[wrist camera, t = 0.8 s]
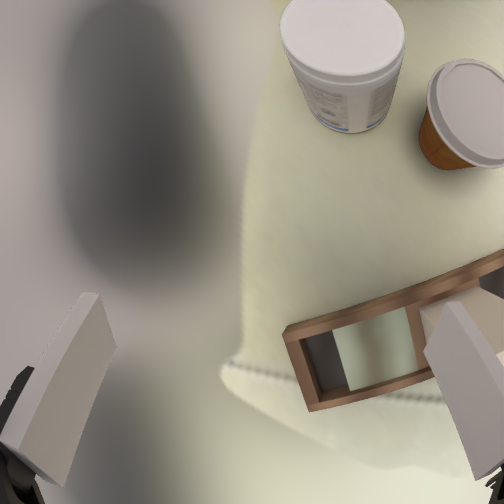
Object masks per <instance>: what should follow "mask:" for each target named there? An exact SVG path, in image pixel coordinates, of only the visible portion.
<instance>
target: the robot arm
mask: <svg viewBox="0 0 504 504" xmlns="http://www.w3.org/2000/svg"><path fill="white" fill-rule="evenodd" d="M115 349H116V344H115V341H114V338H113V335H112V332H111V328H110V325H109V322H108V319H107V316H106V312H105V309H104V306H103V302H102V299H101V295H100V294H98V293H88V292H83V293H82V294H81V296H80V297H79V299H78V300H77V302H76V303H75V305H74V306H73V308H72V309H71V311H70V312H69V314H68V315H67V317H66V318H65V320H64V321H63V323H62V324H61V326H60V327H59V329H58V331H57V332H56V334H55V336H54V337H53V339H52V340H51V342H50V344H49V345H48V347H47V349H46V350H45V352H44V353H43V355H42V357H41V359H40V360H39V362H38V364H37V365H36V367H35V368H33V367H30V366H27V367H26V368H25V369H24V370H23V371H22V372H21V373H20V374H18V375H17V377H16V379H15V380H14V382H13V384H12V386H11V390H9V391H8V393H7V395H6V399H5V400H4V401H3V402H2V404H1V406H0V504H45V502H44V500H43V497H42V495H41V492H40V490H39V487H38V485H37V483H36V481H35V479H34V478H35V475H36V474H37V475H38V476H40V477H41V478H42V479H43V480H45V481H47V482H50V483H52V484H55V485H57V486H60V487H62V488H64V485H65V482H66V479H67V476H68V472H69V470H70V466H71V463H72V460H73V457H74V455H75V451H76V448H77V446H78V443H79V440H80V437H81V434H82V432H83V429H84V426H85V423H86V421H87V418H88V415H89V413H90V410H91V407H92V405H93V402H94V400H95V397H96V395H97V392H98V390H99V387H100V385H101V382H102V380H103V377H104V375H105V373H106V370H107V368H108V365H109V363H110V360H111V358H112V356H113V354H114V351H115ZM423 352H424V355H425V357H426V359H427V361H428V363H429V365H430V367H431V369H432V372H433V374H434V376H435V378H436V380H437V383H438V385H439V387H440V389H441V392H442V394H443V396H444V398H445V401H446V403H447V406H448V408H449V410H450V413H451V415H452V418H453V420H454V423H455V425H456V428H457V430H458V433H459V436H460V438H461V441H462V444H463V446H464V449H465V452H466V455H467V457H468V460H469V463H470V466H471V469H472V472H473V475H474V478H475V480H479V479H481V478H483V477H485V476H488V475H490V474H491V473H493V472H494V471H495V470H496V469H498V468H499V467H500V466H501V469H502V470H501V471H500V472H499V473H498V474H496V475H495V476H494V477H492V478H491V479H490V480H489V481H488V482H487V484H486V485H485V486H486V487H488V486H489V485H491V484H492V483H493V482H495V481H496V482H495V484H493V485H492V486H491V487H490V488H491V489H493V492H492V495H491V498H490V501H489V504H504V367H503V365H502V364H501V362H500V361H499V359H498V357H497V356H496V354H495V352H494V351H493V349H492V348H491V346H490V345H489V343H488V341H487V340H486V338H485V337H484V335H483V334H482V332H481V331H480V329H479V328H478V326H477V325H476V323H475V322H474V321H473V319H472V318H471V316H470V315H469V313H468V312H467V311H466V309H465V308H464V306H463V305H462V304H461V302H460V301H459V302H446V303H445V306H444V308H443V310H442V313H441V315H440V317H439V319H438V322H437V324H436V326H435V328H434V330H433V332H432V334H431V337H430V339H429V341H428V343H427V345H426V347H425V349H424V351H423Z"/></svg>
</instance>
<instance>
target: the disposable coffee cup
mask: <svg viewBox="0 0 504 504" xmlns="http://www.w3.org/2000/svg"><path fill="white" fill-rule="evenodd" d="M419 142H420V146H421V149H422V152H423V154H424V155H425V157H426V158H427V159H428V160H429V161H430V162H431V163H432V164H433V165H434V166H436V167H438V168H440V169H443V170H455V169H462V168H469V167H476V166H478V167H482V168H500V167H503V166H504V76H503V75H502V74H501V73H499V72H498V71H497V70H496V69H494V68H493V67H491V66H489V65H487V64H485V63H484V62H480V61H477V60H473V59H460V60H456V61H452V62H448V63H446V64H444V65H442V66H441V67H439V68H438V69H437V70H436V71H435V72H434V74H433V75H432V77H431V79H430V81H429V84H428V89H427V108H426V112H425V116H424V119H423V123H422V126H421V130H420V134H419Z"/></svg>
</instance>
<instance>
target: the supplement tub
mask: <svg viewBox="0 0 504 504" xmlns="http://www.w3.org/2000/svg"><path fill="white" fill-rule="evenodd" d="M280 35H281V39H282V44H283V47H284V50H285V52H286V55H287V57H288V59H289V62H290V64H291V66H292V68H293V71H294V73H295V75H296V77H297V80H298V82H299V84H300V87H301V89H302V91H303V94H304V96H305V99H306V101H307V103H308V106H309V108H310V110H311V112H312V113H313V114H314V116H315V117H316V118H317V119H318V120H319V121H320V122H321V123H322V124H324V125H325V126H327V127H329V128H331V129H333V130H336V131H339V132H344V133H359V132H363V131H367V130H369V129H371V128H373V127H374V126H376V125H377V124H379V123H380V122H381V121H382V120H383V119H384V117H385V116H386V114H387V112H388V110H389V108H390V105H391V101H392V98H393V94H394V90H395V87H396V83H397V79H398V75H399V72H400V68H401V64H402V60H403V55H404V49H405V30H404V26H403V23H402V20H401V18H400V16H399V14H398V13H397V11H396V10H395V9H394V8H393V7H392V6H391V5H390V4H389V3H388V2H387V1H386V0H292V1H291V2H290V3H289V4H288V5H287V7H286V8H285V10H284V12H283V14H282V16H281V20H280Z"/></svg>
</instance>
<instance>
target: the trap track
mask: <svg viewBox="0 0 504 504" xmlns="http://www.w3.org/2000/svg"><path fill="white" fill-rule="evenodd" d="M473 286H478V287H480V288H482V289H484V290H486V291H488V292H490V293H492V294H494V295H496V296H498V297H500V298H502V299H504V249H502V250H500V251H498V252H495V253H493V254H491V255H489V256H486V257H484V258H482V259H479V260H477V261H475V262H472V263H470V264H467V265H465V266H463V267H460V268H458V269H455V270H453V271H450V272H448V273H445V274H443V275H440V276H438V277H435V278H432V279H430V280H427V281H424V282H422V283H419V284H416V285H414V286H411V287H408V288H405V289H403V290H400V291H397V292H394V293H391V294H389V295H386V296H383V297H380V298H377V299H374V300H371V301H368V302H365V303H362V304H359V305H356V306H353V307H350V308H347V309H343V310H340V311H337V312H334V313H330V314H327V315H324V316H321V317H317V318H314V319H310V320H307V321H304V322H300V323H297V324H293V325H290V326H287V327H286V329H285V331H284V332H283V334H282V336H283V339H284V342H285V345H286V348H287V351H288V353H289V356H290V359H291V362H292V365H293V368H294V371H295V374H296V376H297V379H298V382H299V385H300V388H301V391H302V394H303V397H304V400H305V402H306V405H307V408H308V411H309V412H313V411H318V410H323V409H327V408H332V407H336V406H340V405H345V404H349V403H353V402H356V401H360V400H364V399H368V398H371V397H375V396H378V395H382V394H385V393H388V392H392V391H395V390H398V389H401V388H404V387H407V386H410V385H413V384H416V383H419V382H422V381H425V380H428V379H430V378H433V377H435V376H434V374H433V372H432V369H431V367H430V365H429V363H428V361H427V359H426V357H425V355H424V352H423V351H424V349H425V347H426V345H427V343H426V338H425V334H424V329H423V324H422V320H421V315H420V311H419V308H421V307H423V306H426V305H429V304H431V303H434V302H436V301H439V300H442V299H444V298H447V297H449V296H452V295H454V294H457V293H459V292H461V291H464V290H466V289H469V288H471V287H473Z"/></svg>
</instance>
